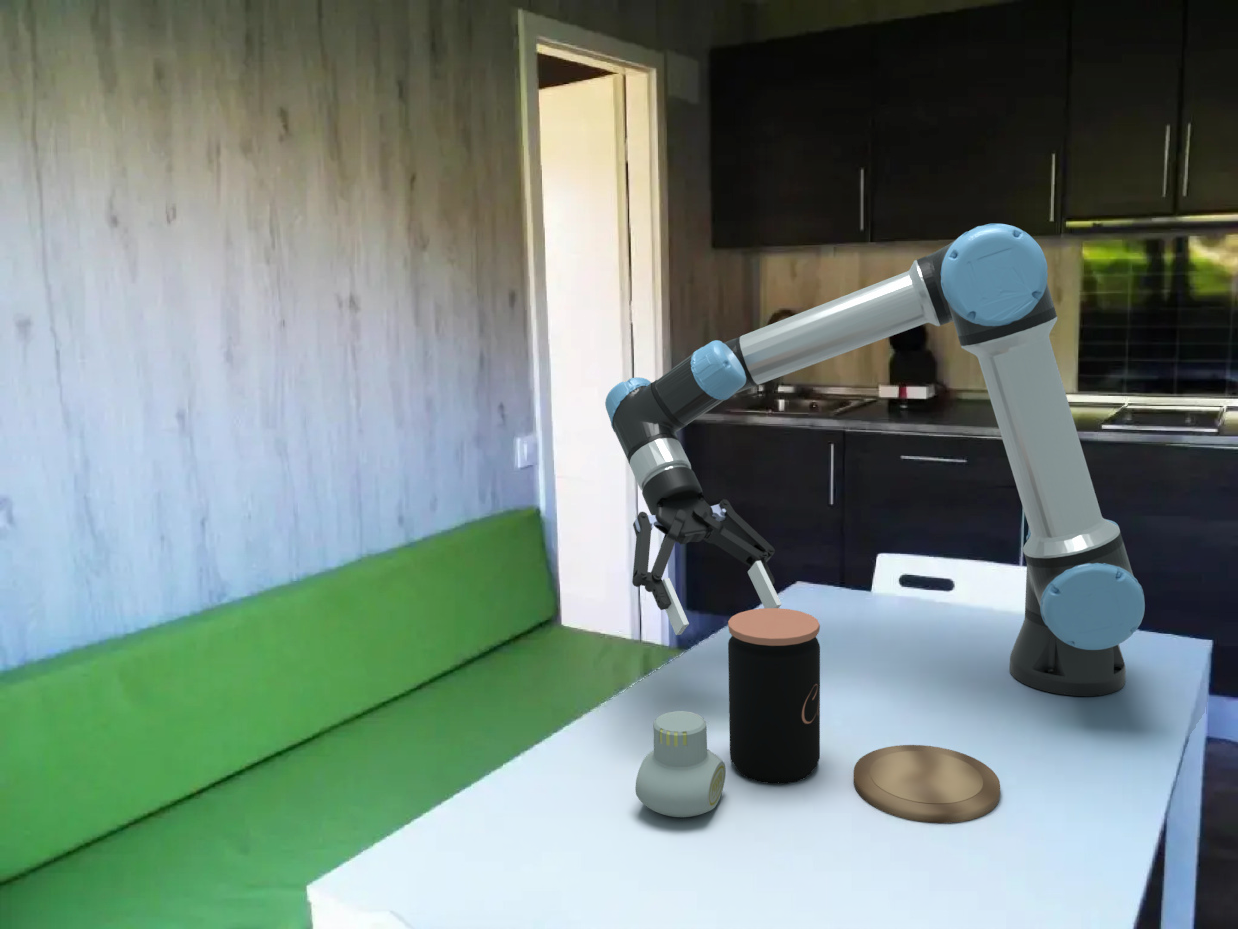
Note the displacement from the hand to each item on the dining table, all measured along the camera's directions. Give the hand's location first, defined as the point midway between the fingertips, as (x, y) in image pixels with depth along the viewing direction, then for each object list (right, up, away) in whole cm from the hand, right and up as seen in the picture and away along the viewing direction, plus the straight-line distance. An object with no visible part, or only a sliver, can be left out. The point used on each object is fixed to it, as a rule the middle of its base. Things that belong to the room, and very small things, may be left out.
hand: (729, 620), depth 130 cm
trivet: (+21, -17, -10) cm, 29 cm away
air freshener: (-7, -19, -12) cm, 24 cm away
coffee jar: (+5, -17, -4) cm, 18 cm away
